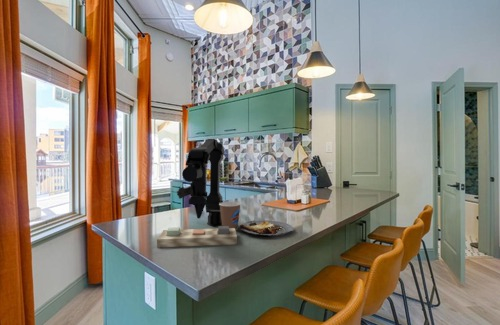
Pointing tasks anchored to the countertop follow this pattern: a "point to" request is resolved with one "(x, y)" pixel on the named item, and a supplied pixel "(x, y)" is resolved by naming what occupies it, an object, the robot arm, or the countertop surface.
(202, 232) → the terracotta key
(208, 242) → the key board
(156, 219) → the countertop surface
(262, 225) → the food plate
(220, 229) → the charcoal key
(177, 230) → the sage green cube
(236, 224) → the coffee cup
